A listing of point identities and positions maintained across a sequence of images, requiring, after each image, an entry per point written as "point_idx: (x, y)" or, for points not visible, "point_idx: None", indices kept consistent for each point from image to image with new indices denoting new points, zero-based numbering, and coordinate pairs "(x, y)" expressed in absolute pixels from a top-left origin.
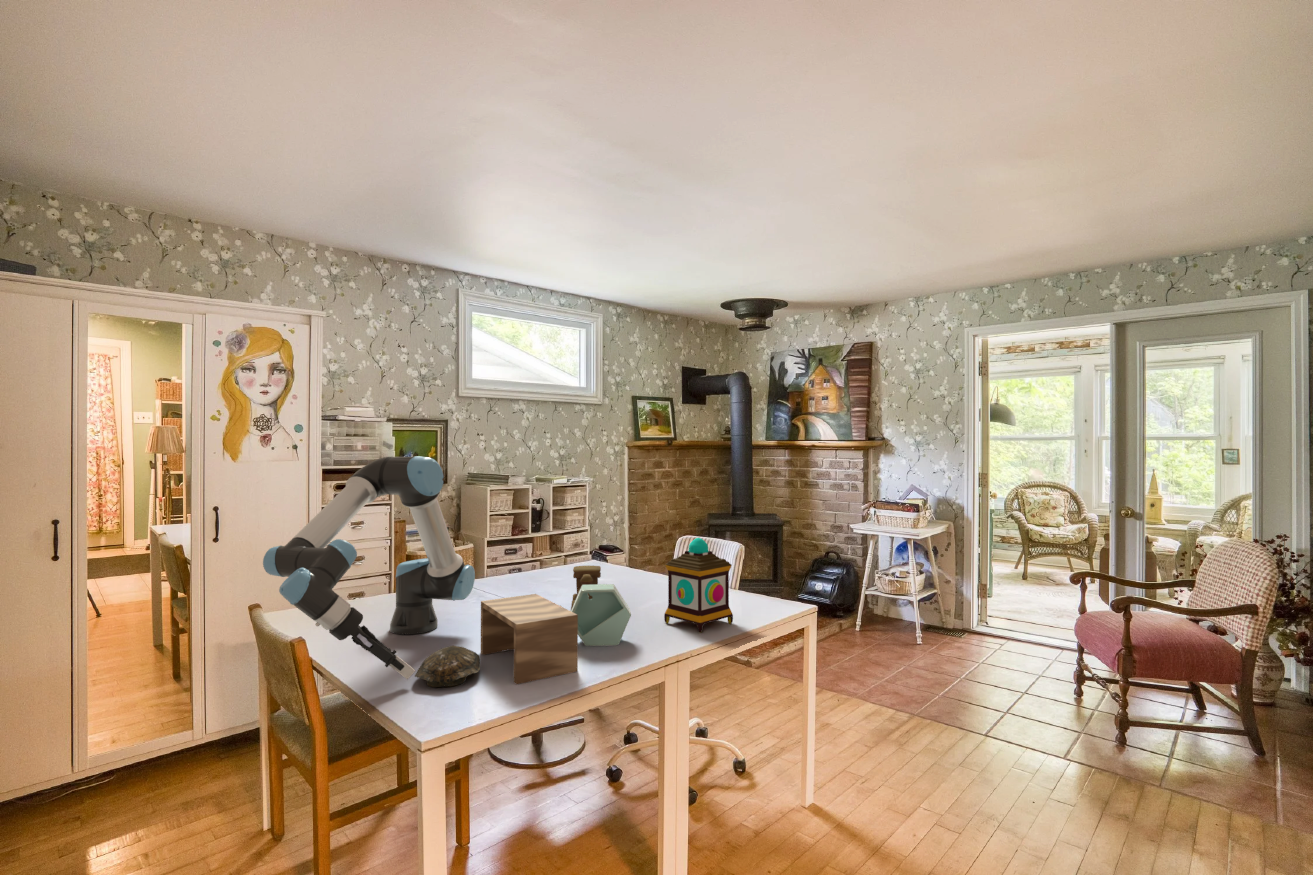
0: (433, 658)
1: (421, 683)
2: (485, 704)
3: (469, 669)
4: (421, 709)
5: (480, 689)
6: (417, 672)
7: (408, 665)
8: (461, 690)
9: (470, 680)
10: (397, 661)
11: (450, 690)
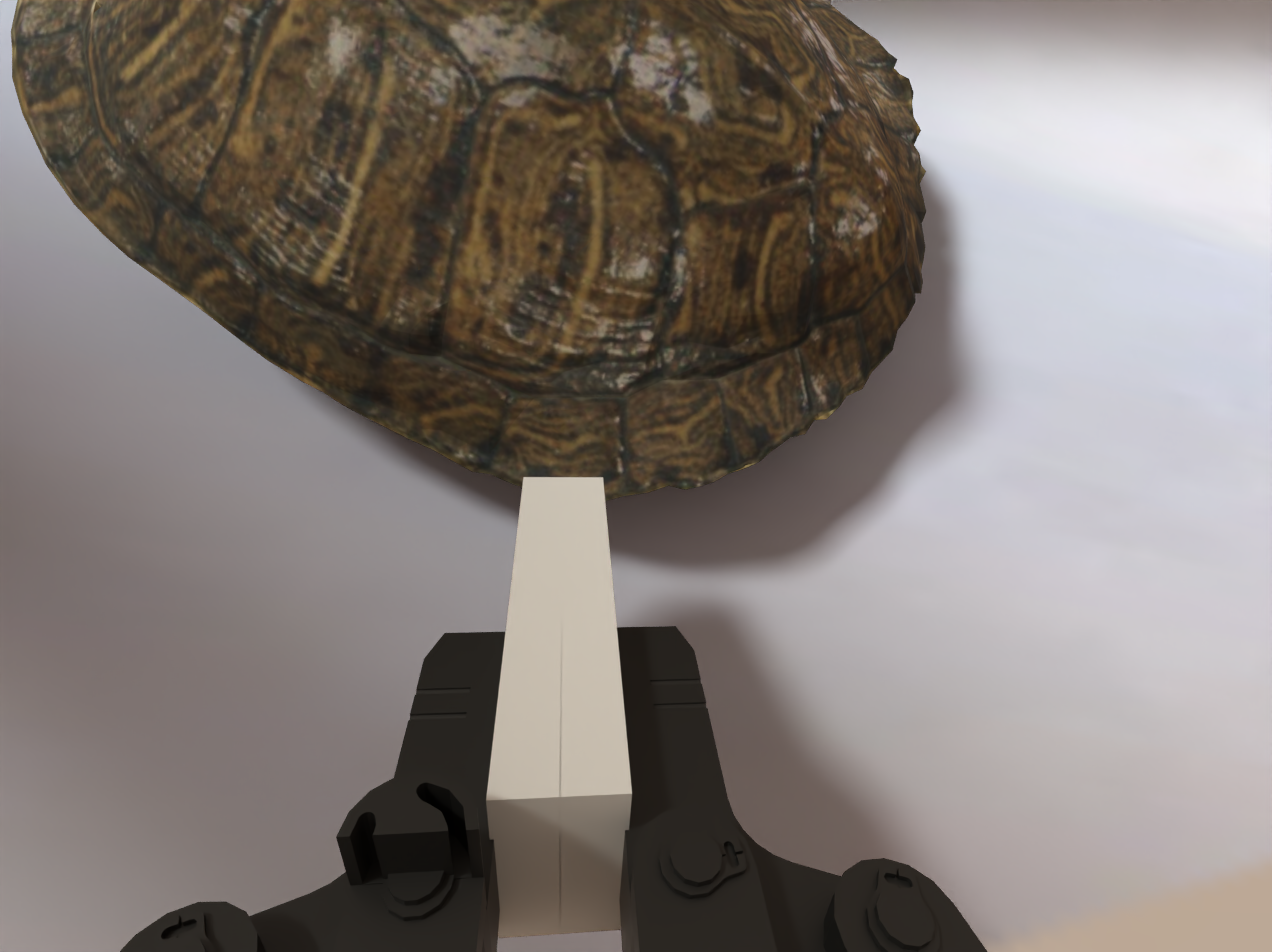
0: (537, 186)
1: None
2: (1256, 164)
3: (807, 5)
4: (1210, 588)
5: (958, 97)
6: (494, 446)
7: (607, 555)
8: None
9: None
10: (715, 769)
11: None
